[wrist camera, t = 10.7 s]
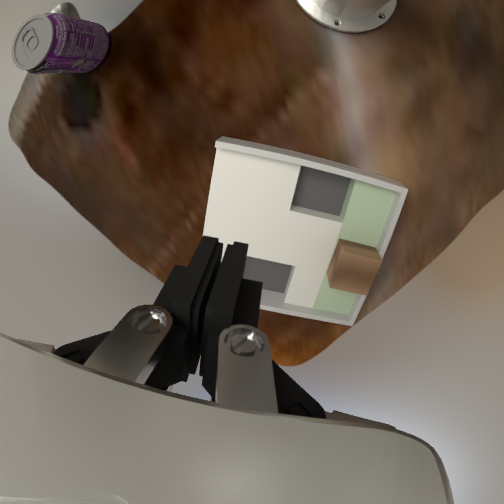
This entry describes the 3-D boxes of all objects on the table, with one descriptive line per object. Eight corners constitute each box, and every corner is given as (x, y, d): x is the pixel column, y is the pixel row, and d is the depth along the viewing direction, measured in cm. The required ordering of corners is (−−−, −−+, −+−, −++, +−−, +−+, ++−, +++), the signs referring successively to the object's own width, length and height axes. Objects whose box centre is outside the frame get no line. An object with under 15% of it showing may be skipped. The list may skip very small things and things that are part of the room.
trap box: (222, 136, 36) (215, 140, 33) (397, 180, 37) (408, 189, 33) (200, 278, 46) (193, 294, 42) (348, 308, 46) (352, 326, 42)
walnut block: (339, 238, 38) (344, 251, 35) (375, 247, 38) (382, 261, 35) (326, 272, 41) (329, 287, 37) (361, 280, 41) (367, 295, 38)
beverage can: (60, 51, 31) (1, 50, 21) (94, 14, 29) (38, -1, 18) (85, 83, 34) (25, 87, 23) (121, 45, 31) (66, 34, 21)
